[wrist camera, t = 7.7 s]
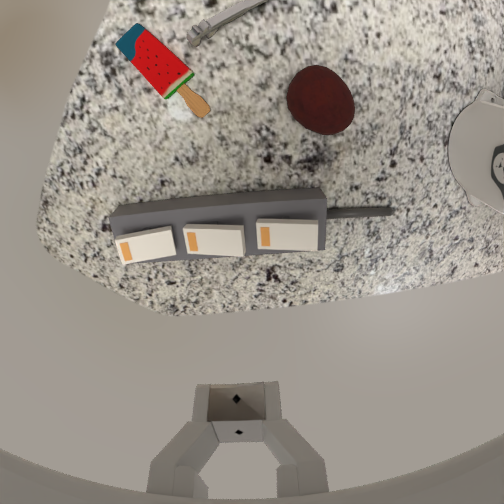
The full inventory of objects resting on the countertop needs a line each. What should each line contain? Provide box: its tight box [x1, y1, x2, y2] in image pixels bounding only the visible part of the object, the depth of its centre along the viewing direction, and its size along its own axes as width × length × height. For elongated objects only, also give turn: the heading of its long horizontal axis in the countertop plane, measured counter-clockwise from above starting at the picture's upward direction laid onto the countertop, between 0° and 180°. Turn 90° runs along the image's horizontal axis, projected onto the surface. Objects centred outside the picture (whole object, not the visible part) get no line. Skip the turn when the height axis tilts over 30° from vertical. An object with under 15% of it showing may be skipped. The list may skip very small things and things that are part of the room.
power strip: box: [108, 188, 393, 264], centre depth 39 cm, size 38×7×5 cm, turn 94°
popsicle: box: [116, 23, 210, 118], centre depth 31 cm, size 4×2×15 cm
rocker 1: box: [115, 226, 176, 265], centre depth 36 cm, size 7×3×1 cm, turn 94°
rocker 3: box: [256, 219, 318, 251], centre depth 36 cm, size 7×3×1 cm, turn 94°
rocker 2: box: [183, 224, 246, 257], centre depth 36 cm, size 7×3×1 cm, turn 94°
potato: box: [287, 65, 355, 135], centre depth 31 cm, size 7×8×6 cm
